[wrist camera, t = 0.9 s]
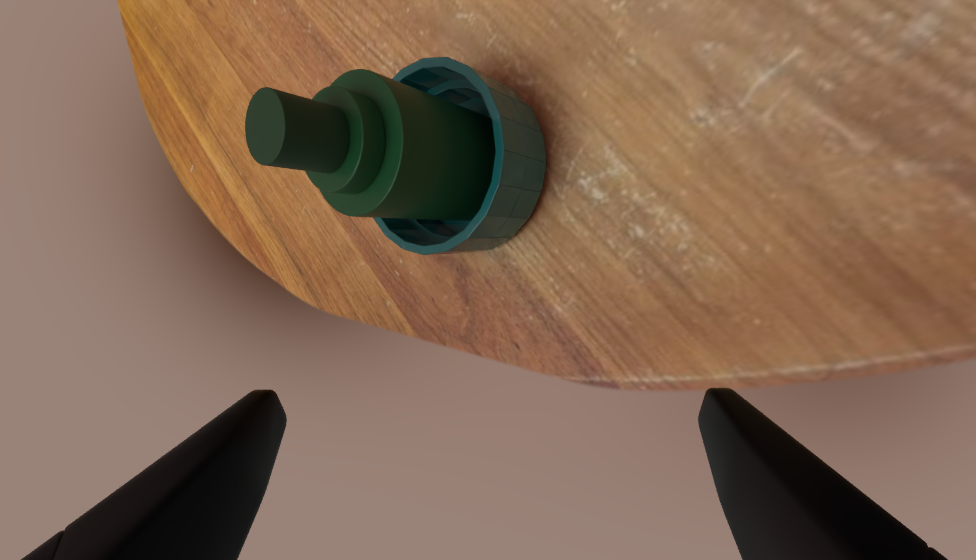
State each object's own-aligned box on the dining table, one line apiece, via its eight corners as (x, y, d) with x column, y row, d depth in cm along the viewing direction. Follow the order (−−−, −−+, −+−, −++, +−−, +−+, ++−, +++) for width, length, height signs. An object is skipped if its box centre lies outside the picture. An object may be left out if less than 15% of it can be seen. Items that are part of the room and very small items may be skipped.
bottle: (536, 163, 24) (339, 108, 14) (471, 242, 27) (269, 248, 17) (472, 92, 26) (257, -3, 16) (418, 173, 29) (208, 139, 19)
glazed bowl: (586, 160, 23) (543, 145, 19) (476, 283, 28) (423, 292, 24) (478, 49, 26) (422, 16, 22) (397, 177, 31) (338, 168, 27)
